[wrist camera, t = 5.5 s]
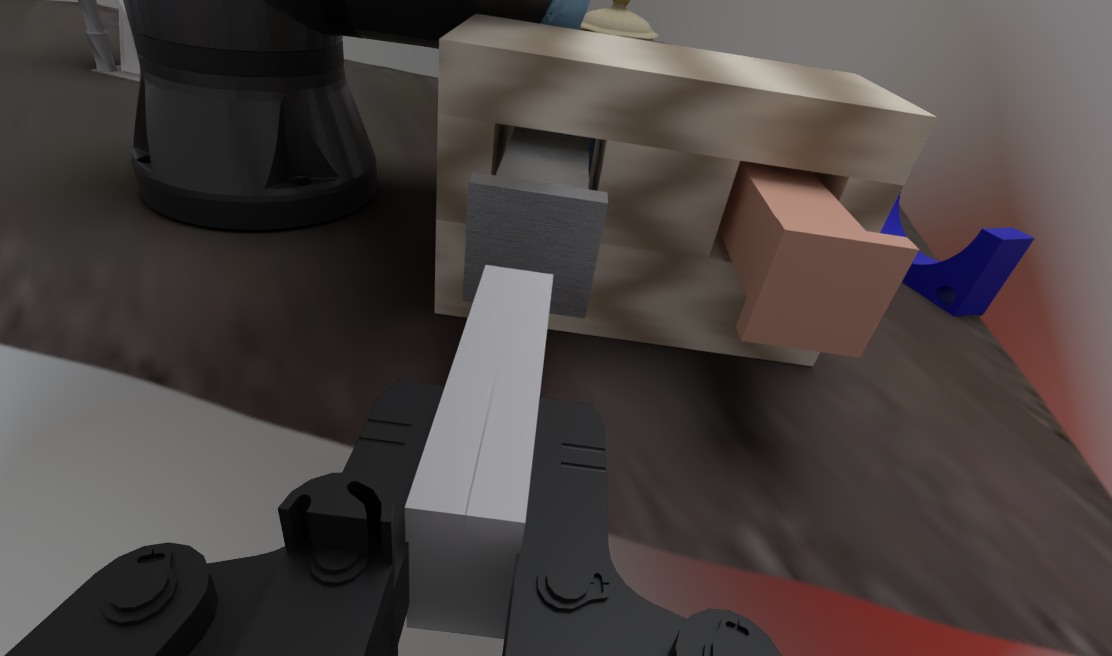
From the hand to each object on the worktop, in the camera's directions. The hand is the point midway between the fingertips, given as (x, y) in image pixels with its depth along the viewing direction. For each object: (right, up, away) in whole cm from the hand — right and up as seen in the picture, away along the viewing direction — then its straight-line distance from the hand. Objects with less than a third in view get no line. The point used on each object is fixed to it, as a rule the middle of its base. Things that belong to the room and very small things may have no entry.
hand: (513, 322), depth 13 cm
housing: (+5, +2, +22) cm, 23 cm away
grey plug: (0, +4, +14) cm, 15 cm away
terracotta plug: (+11, +3, +15) cm, 18 cm away
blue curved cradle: (+27, +4, +31) cm, 41 cm away
